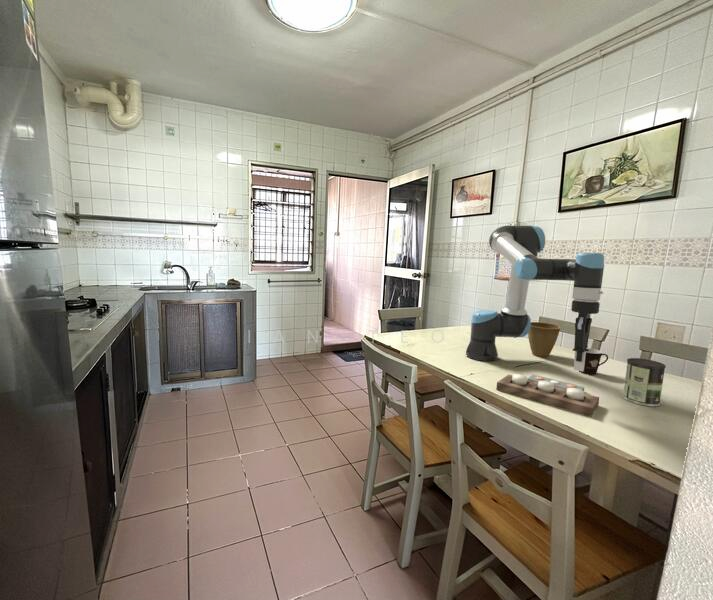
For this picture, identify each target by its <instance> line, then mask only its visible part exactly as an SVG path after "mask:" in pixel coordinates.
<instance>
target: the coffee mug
mask: <svg viewBox="0 0 713 600" xmlns="http://www.w3.org/2000/svg"><path fill="white" fill-rule="evenodd" d="M586 349H589V351H585V352H586V355H585V365H584V371H583V372H582V371H578V372H579V373H580V372H581V373H580V374H584V375H587V374H588V376H596V375H597V373H598V369H599V367H600V366H601V365H602V366H603V364H605V363H607V361H608V360H609V355H608V354H606V353H603V351H601V350H599V349H595V348H590V347H587V348H586ZM602 356H605V357H606V358H605V360H604V361H603V362H601V358H602ZM600 362H601V363H600Z"/></svg>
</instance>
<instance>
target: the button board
mask: <svg viewBox="0 0 713 600" xmlns="http://www.w3.org/2000/svg"><path fill="white" fill-rule="evenodd" d="M512 375H513V374H507V375H505V376H503V377H502V378H501V379H500V380H498V381H496V391H499V390H500V391H499V392H504V393H506V394H509V393H510V395H514V396H517V397H521V398H524V399H527V400H531V401H534V402H538V403H541V404H544V405H548V406H552V407H554V406H555V408H559V409H562V410H566V411H569V412H572V413H575V414H578V415H581V416H586V417H589V418H592V417H593V416H594V414H595V412H596V411H597V409H598V407H599V403H600V397H599V396H595V395H591V394H589V393H588V394H587V393H584V400H582V401H577V400H573V399H569V398H568V397H566V393H567V389H564V388H560V387H556V386H554V392H552V393H547V392H543V391H540V390H538V382H537V381H533V380H529V379H528V378H527V385H517V384H514V383H512Z"/></svg>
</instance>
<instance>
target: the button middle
mask: <svg viewBox="0 0 713 600" xmlns="http://www.w3.org/2000/svg"><path fill="white" fill-rule="evenodd" d="M538 390H540V391H543V392H547V393H552V392H554V384H553V383H552V382H548V381H538Z"/></svg>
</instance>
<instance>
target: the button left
mask: <svg viewBox="0 0 713 600" xmlns="http://www.w3.org/2000/svg"><path fill="white" fill-rule="evenodd" d="M511 375H512V383H514V384H517V385H527V379H528V377H527V376H525V375H524V374H520V373H519V374H518V373H517V374H515V373H514V374H511Z"/></svg>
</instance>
